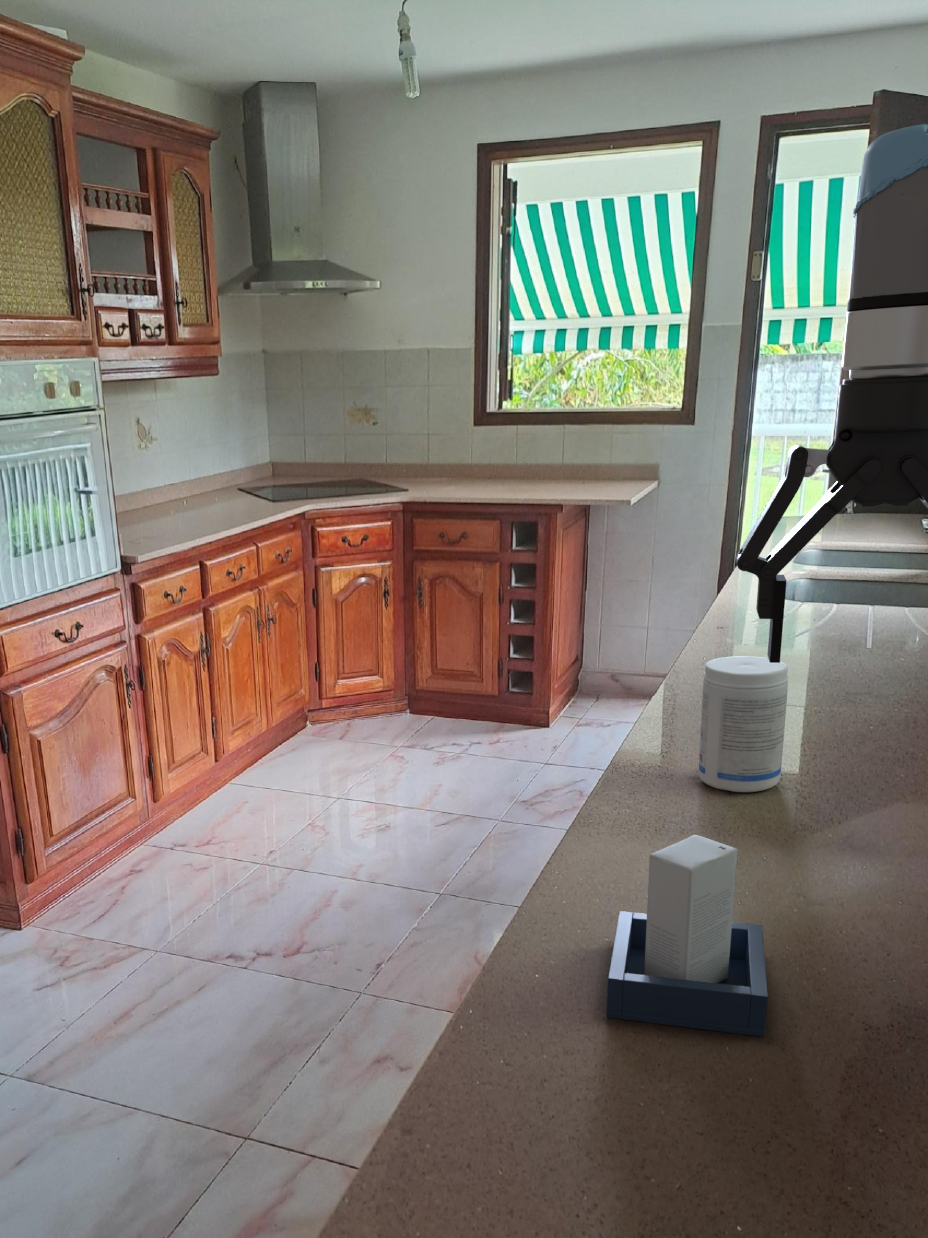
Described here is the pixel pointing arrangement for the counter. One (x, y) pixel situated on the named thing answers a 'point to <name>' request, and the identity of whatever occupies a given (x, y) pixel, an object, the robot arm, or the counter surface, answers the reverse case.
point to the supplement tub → (742, 723)
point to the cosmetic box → (690, 910)
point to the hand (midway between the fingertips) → (865, 660)
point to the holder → (689, 984)
